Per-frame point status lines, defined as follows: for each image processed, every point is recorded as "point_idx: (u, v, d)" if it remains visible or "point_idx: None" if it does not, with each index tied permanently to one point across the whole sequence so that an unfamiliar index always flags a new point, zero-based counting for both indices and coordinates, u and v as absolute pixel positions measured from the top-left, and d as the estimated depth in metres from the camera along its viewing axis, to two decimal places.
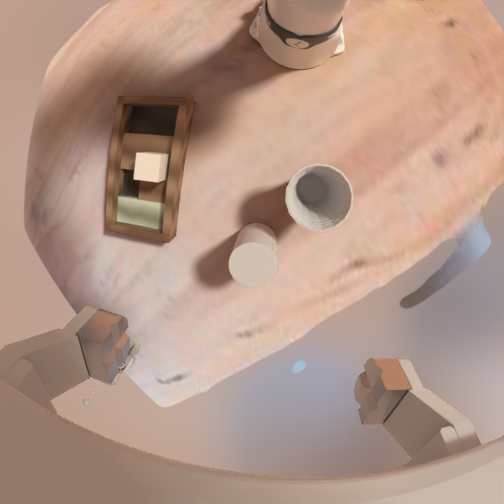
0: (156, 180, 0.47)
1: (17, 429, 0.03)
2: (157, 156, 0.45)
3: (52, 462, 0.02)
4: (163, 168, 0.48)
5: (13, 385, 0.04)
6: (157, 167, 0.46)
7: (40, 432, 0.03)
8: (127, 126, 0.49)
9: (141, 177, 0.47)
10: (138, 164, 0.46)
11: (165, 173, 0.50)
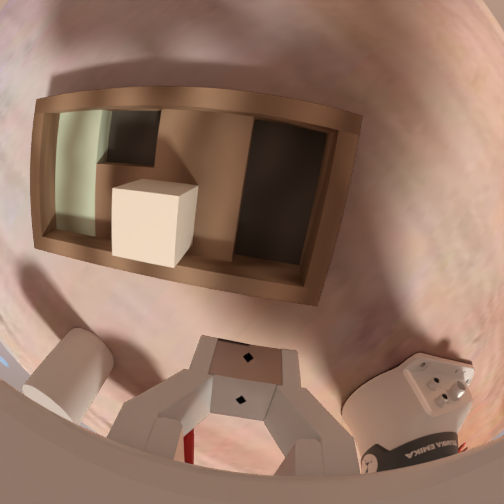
0: (115, 252, 0.19)
1: (17, 429, 0.03)
2: (168, 258, 0.19)
3: (52, 462, 0.02)
4: None
5: (167, 455, 0.04)
6: (143, 256, 0.19)
7: (40, 432, 0.03)
8: (272, 120, 0.20)
9: (117, 211, 0.18)
10: (147, 203, 0.17)
11: None
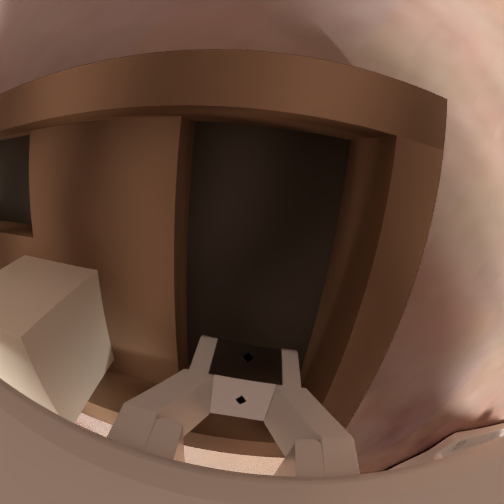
0: None
1: (17, 429, 0.03)
2: None
3: (52, 462, 0.02)
4: None
5: (166, 455, 0.04)
6: None
7: (40, 433, 0.03)
8: (228, 120, 0.09)
9: None
10: None
11: None
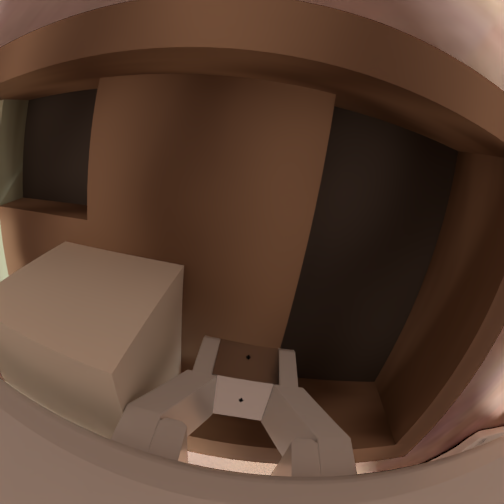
0: None
1: (17, 429, 0.03)
2: None
3: (52, 462, 0.02)
4: None
5: (171, 456, 0.04)
6: None
7: (40, 432, 0.03)
8: (372, 110, 0.07)
9: None
10: (40, 363, 0.04)
11: None
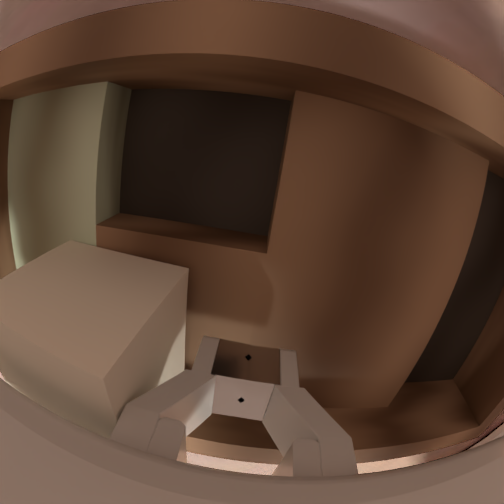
0: None
1: (17, 429, 0.03)
2: None
3: (52, 462, 0.02)
4: None
5: (169, 456, 0.04)
6: None
7: (40, 433, 0.03)
8: (497, 170, 0.08)
9: None
10: (35, 362, 0.04)
11: None
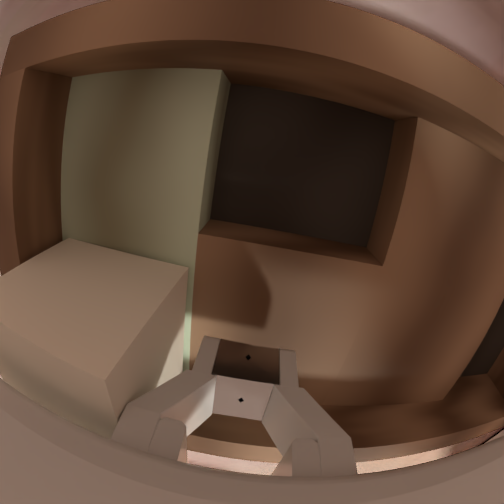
0: None
1: (17, 429, 0.03)
2: None
3: (52, 462, 0.02)
4: None
5: (170, 456, 0.04)
6: None
7: (40, 432, 0.03)
8: None
9: None
10: (34, 363, 0.04)
11: None
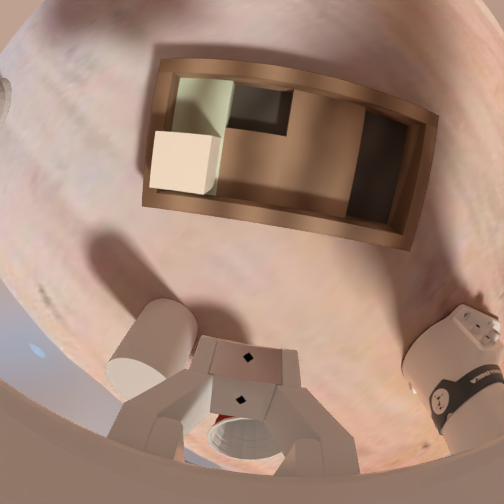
0: (152, 184, 0.23)
1: (17, 429, 0.03)
2: (200, 186, 0.23)
3: (52, 462, 0.02)
4: None
5: (167, 455, 0.04)
6: (177, 185, 0.23)
7: (40, 433, 0.03)
8: (375, 112, 0.24)
9: (157, 149, 0.22)
10: (185, 141, 0.21)
11: None
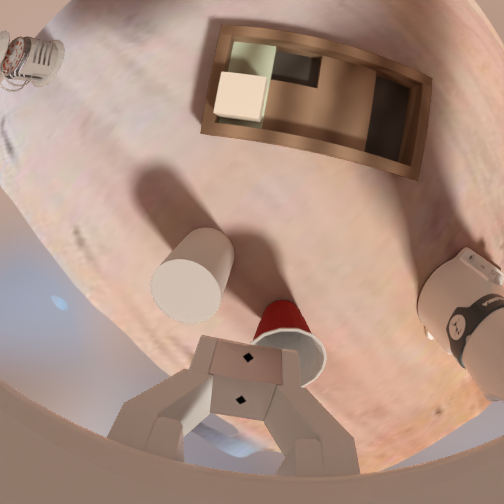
0: (216, 110, 0.27)
1: (17, 429, 0.03)
2: (256, 112, 0.27)
3: (52, 462, 0.02)
4: (237, 117, 0.30)
5: (167, 455, 0.04)
6: (238, 111, 0.27)
7: (40, 432, 0.03)
8: (384, 76, 0.29)
9: (222, 84, 0.26)
10: (245, 80, 0.26)
11: (229, 117, 0.31)
